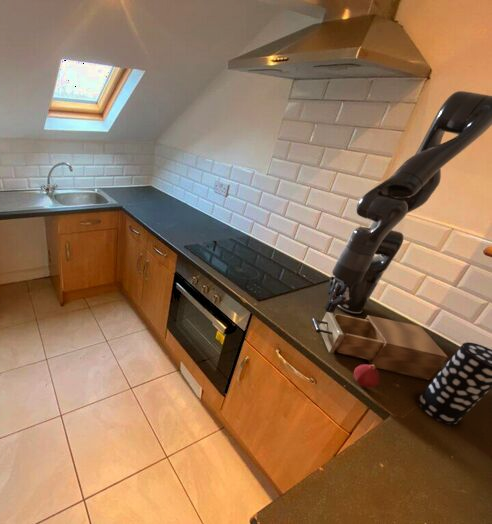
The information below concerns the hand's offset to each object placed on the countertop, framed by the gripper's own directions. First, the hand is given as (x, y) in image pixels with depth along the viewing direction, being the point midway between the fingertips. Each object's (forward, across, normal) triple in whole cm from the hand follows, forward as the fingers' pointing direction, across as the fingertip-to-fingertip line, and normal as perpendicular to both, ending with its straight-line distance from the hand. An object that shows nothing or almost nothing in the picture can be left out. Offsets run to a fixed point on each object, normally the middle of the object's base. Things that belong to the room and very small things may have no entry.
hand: (328, 311), depth 94 cm
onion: (+12, -16, -8) cm, 22 cm away
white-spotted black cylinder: (+12, -18, -26) cm, 34 cm away
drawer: (+11, 0, -7) cm, 13 cm away
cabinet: (+12, 0, -22) cm, 25 cm away
